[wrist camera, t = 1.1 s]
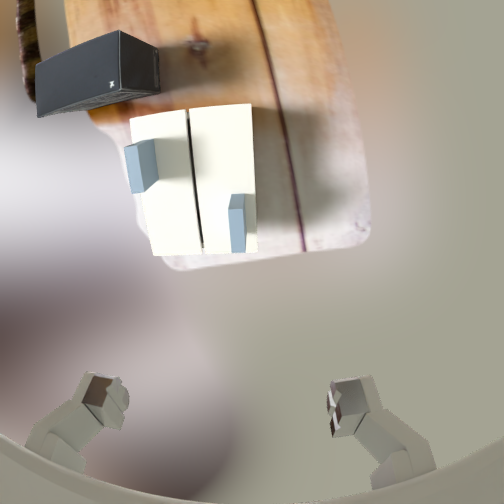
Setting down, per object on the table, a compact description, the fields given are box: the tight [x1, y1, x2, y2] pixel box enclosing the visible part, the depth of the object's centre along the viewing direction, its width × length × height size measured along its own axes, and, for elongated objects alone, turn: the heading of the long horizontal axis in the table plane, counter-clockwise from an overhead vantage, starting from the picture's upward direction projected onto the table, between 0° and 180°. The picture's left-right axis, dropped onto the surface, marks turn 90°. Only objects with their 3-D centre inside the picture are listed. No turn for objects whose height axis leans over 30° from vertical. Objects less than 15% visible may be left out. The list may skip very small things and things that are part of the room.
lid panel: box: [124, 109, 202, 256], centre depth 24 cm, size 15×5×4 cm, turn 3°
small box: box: [35, 30, 160, 118], centre depth 22 cm, size 11×6×10 cm, turn 92°
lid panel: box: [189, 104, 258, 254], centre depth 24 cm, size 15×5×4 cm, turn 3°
